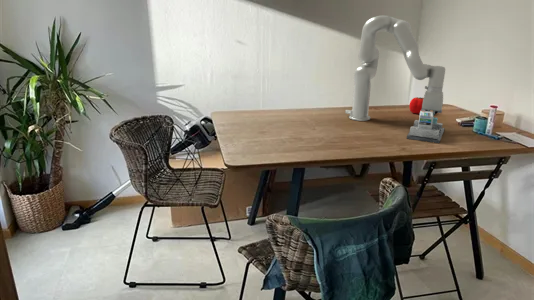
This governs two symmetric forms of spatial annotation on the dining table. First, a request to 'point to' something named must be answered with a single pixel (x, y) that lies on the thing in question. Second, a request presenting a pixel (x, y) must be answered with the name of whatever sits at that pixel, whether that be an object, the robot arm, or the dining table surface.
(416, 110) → the tomato
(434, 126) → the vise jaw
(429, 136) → the base
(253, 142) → the dining table surface
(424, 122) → the light bulb box
